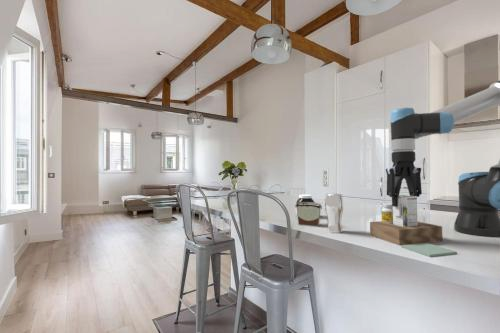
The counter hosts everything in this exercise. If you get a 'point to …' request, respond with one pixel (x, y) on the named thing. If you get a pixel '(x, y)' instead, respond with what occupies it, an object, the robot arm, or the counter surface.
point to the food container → (308, 213)
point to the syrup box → (407, 212)
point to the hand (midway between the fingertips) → (404, 214)
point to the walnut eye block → (406, 232)
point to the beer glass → (334, 212)
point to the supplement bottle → (387, 212)
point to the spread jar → (304, 199)
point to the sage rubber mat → (429, 249)
